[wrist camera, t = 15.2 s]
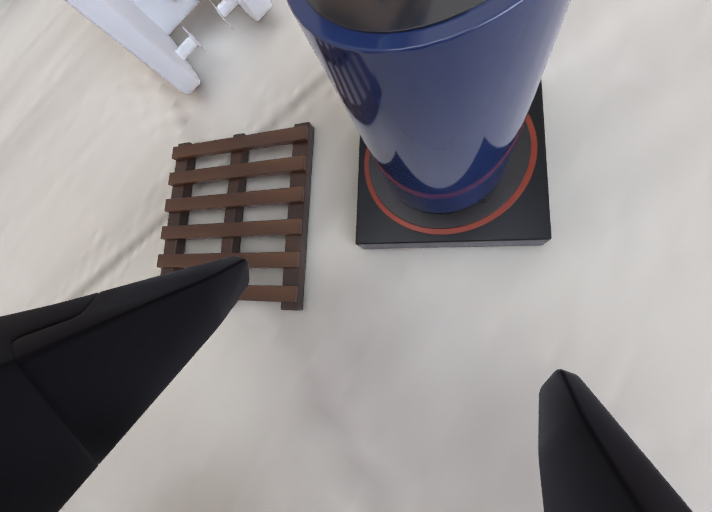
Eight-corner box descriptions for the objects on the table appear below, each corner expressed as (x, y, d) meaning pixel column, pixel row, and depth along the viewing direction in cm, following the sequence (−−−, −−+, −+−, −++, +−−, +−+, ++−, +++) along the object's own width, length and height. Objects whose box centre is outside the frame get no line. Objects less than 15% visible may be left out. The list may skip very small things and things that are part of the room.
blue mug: (504, 217, 15) (612, 23, 5) (374, 209, 17) (254, 66, 7) (520, 47, 16) (639, -417, 6) (397, 60, 18) (321, -257, 8)
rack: (302, 310, 20) (293, 310, 19) (165, 303, 23) (151, 303, 22) (314, 127, 22) (306, 118, 21) (186, 148, 25) (173, 141, 24)
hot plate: (542, 245, 16) (557, 235, 14) (363, 249, 19) (350, 241, 17) (532, 77, 17) (544, 43, 15) (368, 106, 21) (357, 81, 18)
